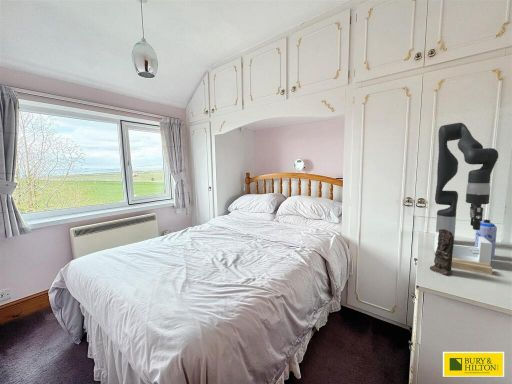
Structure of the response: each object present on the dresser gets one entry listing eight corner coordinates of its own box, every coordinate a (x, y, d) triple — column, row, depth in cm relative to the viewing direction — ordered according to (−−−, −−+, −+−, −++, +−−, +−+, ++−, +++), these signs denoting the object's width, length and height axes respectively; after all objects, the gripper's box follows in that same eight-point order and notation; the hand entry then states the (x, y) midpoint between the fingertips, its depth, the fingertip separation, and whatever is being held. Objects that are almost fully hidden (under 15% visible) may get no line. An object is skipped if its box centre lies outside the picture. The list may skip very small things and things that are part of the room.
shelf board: (448, 264, 109) (448, 257, 109) (487, 270, 101) (488, 263, 101) (449, 268, 104) (450, 261, 104) (491, 275, 96) (492, 268, 96)
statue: (429, 269, 103) (431, 228, 101) (438, 266, 105) (441, 226, 103) (445, 276, 96) (449, 232, 94) (455, 273, 99) (458, 230, 97)
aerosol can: (499, 259, 112) (502, 221, 110) (481, 258, 113) (484, 221, 111) (486, 254, 119) (489, 218, 117) (469, 253, 121) (472, 218, 119)
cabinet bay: (433, 252, 123) (435, 231, 122) (481, 259, 113) (483, 236, 112) (437, 260, 113) (439, 237, 112) (489, 268, 103) (492, 243, 102)
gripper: (464, 191, 106) (462, 223, 108) (468, 193, 95) (465, 229, 97) (486, 192, 102) (483, 225, 103) (493, 194, 91) (489, 232, 92)
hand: (474, 227), depth 100 cm, fingers open, 8 cm apart
